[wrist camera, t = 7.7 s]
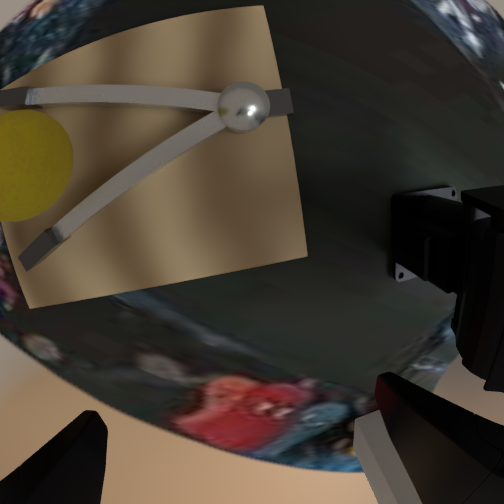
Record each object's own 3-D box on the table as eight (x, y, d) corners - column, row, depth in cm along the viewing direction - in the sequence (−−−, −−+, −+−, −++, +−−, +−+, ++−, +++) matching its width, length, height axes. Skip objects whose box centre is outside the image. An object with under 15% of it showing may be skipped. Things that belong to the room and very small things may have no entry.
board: (260, 13, 14) (263, 5, 13) (302, 250, 19) (307, 256, 18) (-5, 101, 13) (-14, 99, 12) (37, 301, 18) (29, 308, 17)
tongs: (266, 19, 13) (273, 3, 11) (301, 204, 17) (312, 211, 15) (11, 97, 12) (-8, 93, 10) (39, 261, 16) (22, 273, 14)
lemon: (16, 143, 13) (-70, 147, 6) (81, 101, 14) (0, 73, 6) (39, 220, 15) (-43, 259, 8) (106, 185, 15) (29, 207, 8)
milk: (404, 397, 25) (507, 547, 4) (397, 429, 27) (478, 562, 6) (352, 418, 25) (441, 593, 4) (351, 448, 27) (420, 597, 6)
